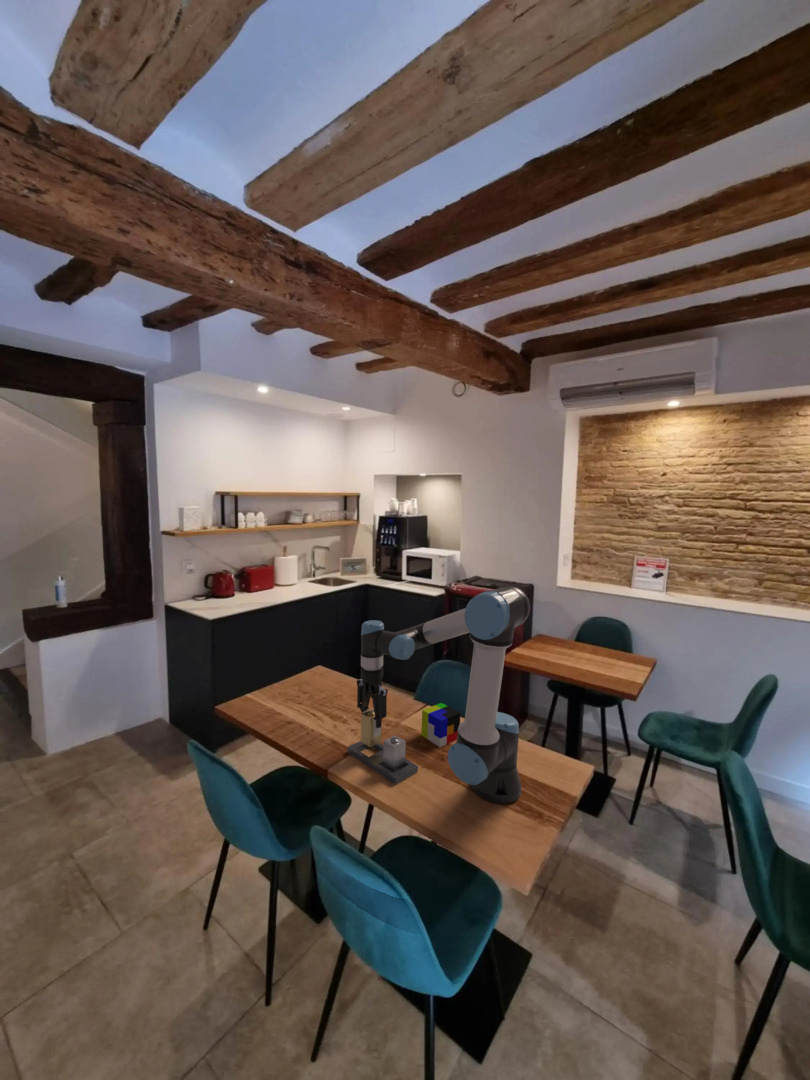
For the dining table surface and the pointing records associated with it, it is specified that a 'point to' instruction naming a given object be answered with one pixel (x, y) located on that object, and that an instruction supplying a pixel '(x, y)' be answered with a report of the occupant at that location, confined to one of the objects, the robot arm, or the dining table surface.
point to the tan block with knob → (368, 729)
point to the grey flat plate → (381, 762)
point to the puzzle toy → (440, 724)
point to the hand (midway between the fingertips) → (371, 732)
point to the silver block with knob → (394, 754)
